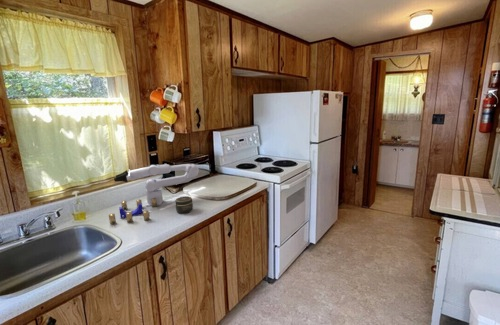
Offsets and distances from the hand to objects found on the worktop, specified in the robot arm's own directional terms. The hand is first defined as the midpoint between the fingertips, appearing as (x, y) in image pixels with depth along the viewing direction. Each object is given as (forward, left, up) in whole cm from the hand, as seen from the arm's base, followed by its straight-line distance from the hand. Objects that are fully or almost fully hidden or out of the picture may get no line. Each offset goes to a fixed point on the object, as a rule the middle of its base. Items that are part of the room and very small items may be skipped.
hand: (115, 178), depth 160 cm
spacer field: (-12, +12, -20) cm, 26 cm away
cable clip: (-11, +12, -20) cm, 26 cm away
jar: (-41, +14, -20) cm, 48 cm away
